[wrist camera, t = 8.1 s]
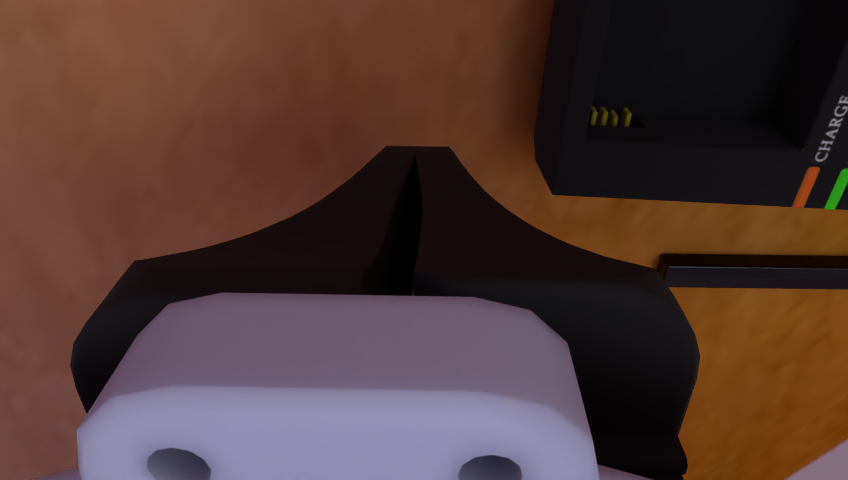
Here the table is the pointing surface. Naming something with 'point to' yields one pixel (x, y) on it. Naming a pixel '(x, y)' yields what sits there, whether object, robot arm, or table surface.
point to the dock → (754, 271)
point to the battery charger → (697, 101)
